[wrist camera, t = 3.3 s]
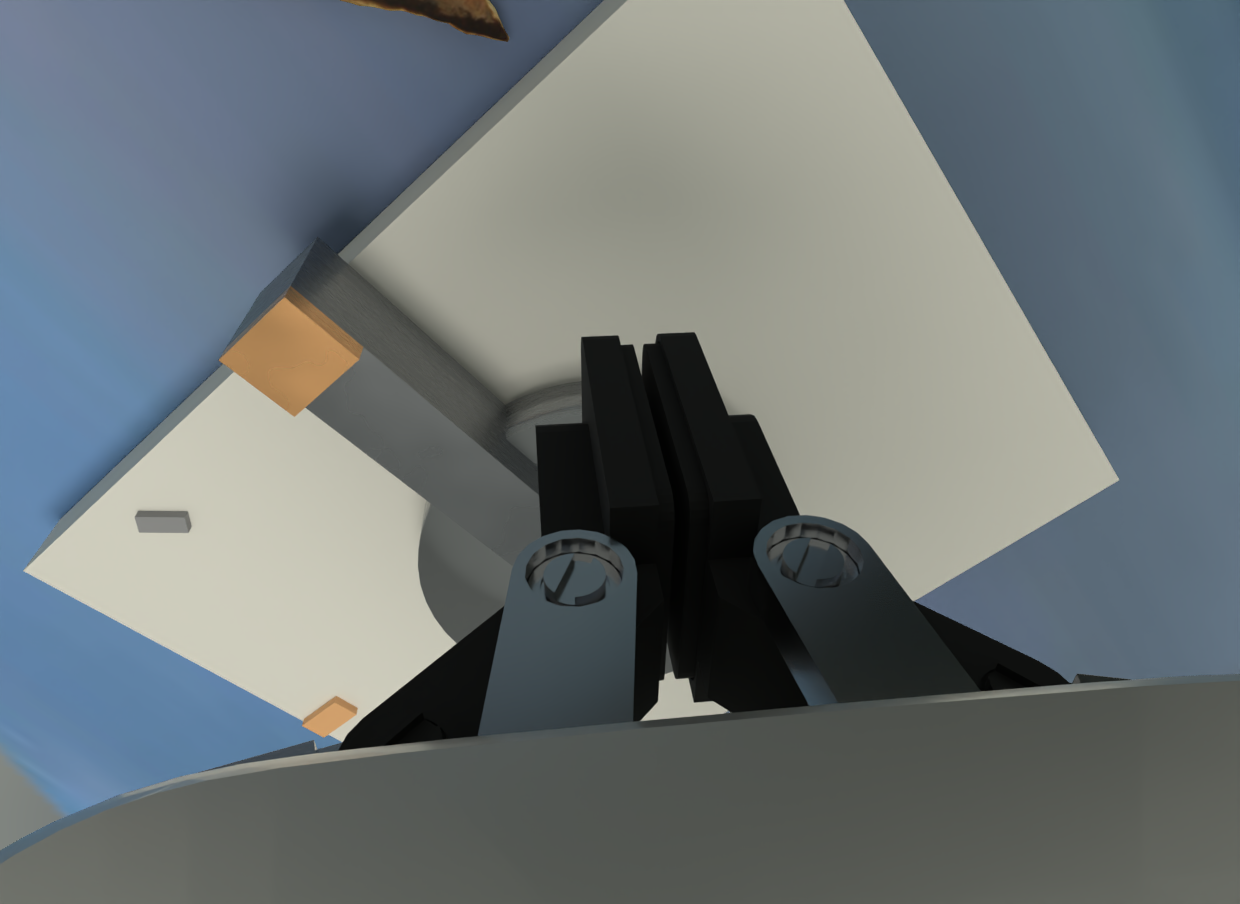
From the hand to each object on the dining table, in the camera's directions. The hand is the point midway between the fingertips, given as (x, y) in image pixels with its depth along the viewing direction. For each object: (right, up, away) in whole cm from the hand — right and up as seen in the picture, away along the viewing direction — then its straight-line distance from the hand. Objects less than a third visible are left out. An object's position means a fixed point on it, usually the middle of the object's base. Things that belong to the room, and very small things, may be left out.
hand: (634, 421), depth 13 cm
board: (-1, -1, +16) cm, 17 cm away
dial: (-3, -1, +13) cm, 13 cm away
